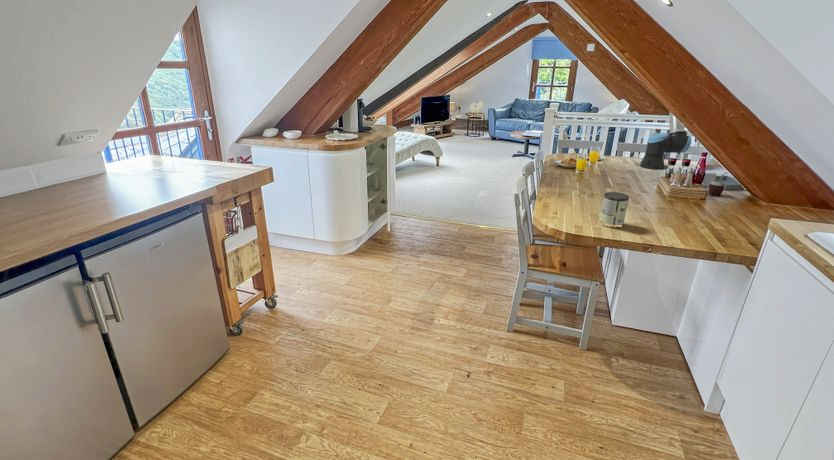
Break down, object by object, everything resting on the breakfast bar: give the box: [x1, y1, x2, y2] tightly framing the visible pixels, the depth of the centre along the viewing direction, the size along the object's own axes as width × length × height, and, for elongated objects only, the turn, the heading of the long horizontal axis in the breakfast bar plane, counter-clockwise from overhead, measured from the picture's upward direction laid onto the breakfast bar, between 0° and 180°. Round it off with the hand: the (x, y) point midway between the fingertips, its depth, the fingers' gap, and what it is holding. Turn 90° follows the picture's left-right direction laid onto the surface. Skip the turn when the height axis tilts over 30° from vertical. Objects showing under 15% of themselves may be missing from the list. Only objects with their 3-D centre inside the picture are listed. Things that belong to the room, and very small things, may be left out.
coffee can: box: [599, 191, 630, 225], centre depth 188 cm, size 10×10×14 cm
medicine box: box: [703, 171, 718, 188], centre depth 247 cm, size 8×4×9 cm, turn 84°
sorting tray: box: [715, 175, 745, 191], centre depth 250 cm, size 20×15×4 cm
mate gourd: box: [707, 171, 728, 198], centre depth 229 cm, size 8×8×15 cm
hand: (710, 146), depth 250 cm, fingers open, 13 cm apart
